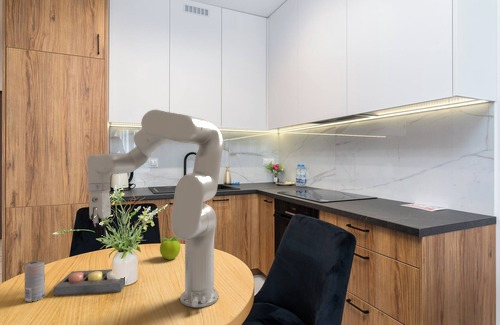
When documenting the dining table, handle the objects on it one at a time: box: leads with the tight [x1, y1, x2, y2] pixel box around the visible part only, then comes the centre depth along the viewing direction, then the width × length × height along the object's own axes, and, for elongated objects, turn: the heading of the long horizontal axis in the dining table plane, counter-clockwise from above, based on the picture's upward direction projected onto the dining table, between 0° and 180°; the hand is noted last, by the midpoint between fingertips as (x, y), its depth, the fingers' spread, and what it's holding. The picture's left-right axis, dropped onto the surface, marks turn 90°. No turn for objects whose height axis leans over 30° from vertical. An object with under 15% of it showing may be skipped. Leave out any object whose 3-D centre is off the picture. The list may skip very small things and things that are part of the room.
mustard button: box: [88, 271, 102, 281], centre depth 108 cm, size 5×5×4 cm
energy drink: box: [24, 259, 46, 303], centre depth 98 cm, size 5×5×12 cm
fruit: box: [159, 236, 181, 261], centre depth 137 cm, size 9×9×10 cm
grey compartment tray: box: [53, 269, 126, 296], centre depth 108 cm, size 14×21×3 cm, turn 99°
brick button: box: [68, 272, 83, 282], centre depth 107 cm, size 5×5×4 cm
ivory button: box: [107, 271, 116, 280], centre depth 109 cm, size 5×5×4 cm
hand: (100, 236), depth 110 cm, fingers closed
